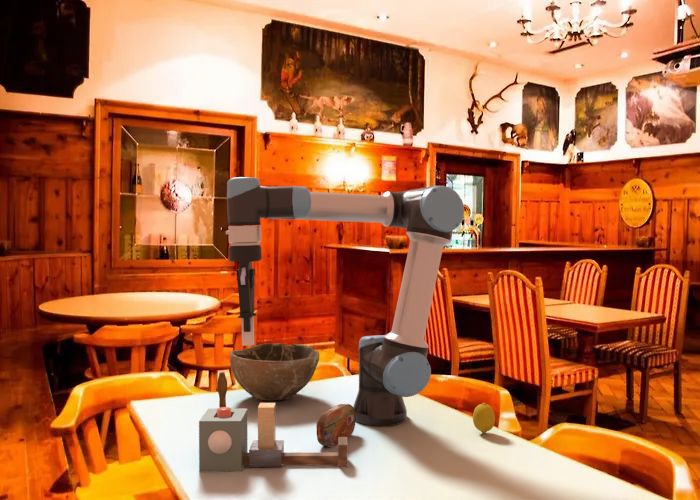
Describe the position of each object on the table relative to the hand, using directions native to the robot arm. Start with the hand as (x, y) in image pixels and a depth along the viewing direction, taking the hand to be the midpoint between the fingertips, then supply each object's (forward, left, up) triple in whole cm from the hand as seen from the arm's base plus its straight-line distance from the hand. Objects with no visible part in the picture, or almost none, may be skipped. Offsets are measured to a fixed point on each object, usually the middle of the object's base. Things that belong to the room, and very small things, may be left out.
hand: (248, 344), depth 138 cm
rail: (-11, +7, -25) cm, 28 cm away
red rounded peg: (+4, +7, -21) cm, 23 cm away
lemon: (-59, -12, -26) cm, 65 cm away
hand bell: (+8, -12, -26) cm, 29 cm away
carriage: (-5, +7, -25) cm, 27 cm away
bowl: (-2, -44, -26) cm, 51 cm away
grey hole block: (+4, +7, -25) cm, 27 cm away
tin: (-21, -7, -26) cm, 34 cm away
